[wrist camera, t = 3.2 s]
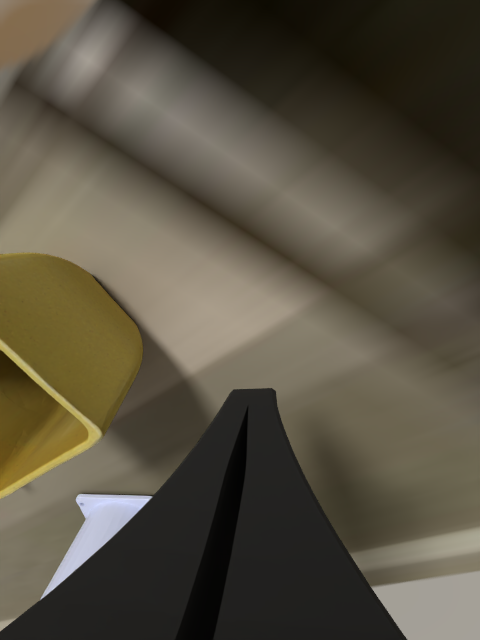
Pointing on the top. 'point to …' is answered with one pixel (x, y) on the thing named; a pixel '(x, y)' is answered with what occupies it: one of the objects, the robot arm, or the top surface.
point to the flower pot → (57, 364)
